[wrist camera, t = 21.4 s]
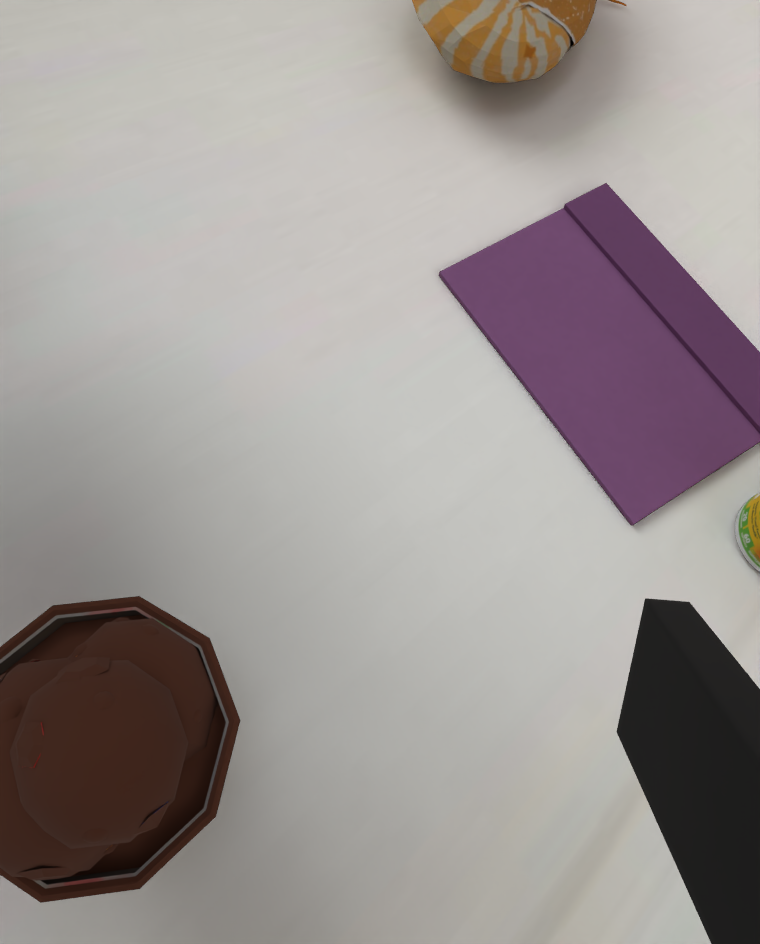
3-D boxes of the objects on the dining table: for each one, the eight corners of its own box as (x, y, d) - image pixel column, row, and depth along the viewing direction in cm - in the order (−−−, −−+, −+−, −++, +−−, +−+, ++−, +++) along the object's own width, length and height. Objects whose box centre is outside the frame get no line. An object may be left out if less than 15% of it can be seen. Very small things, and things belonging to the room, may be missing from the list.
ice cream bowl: (216, 596, 39) (142, 513, 25) (295, 800, 36) (259, 838, 22) (21, 680, 37) (-178, 642, 23) (85, 905, 34) (-105, 1021, 20)
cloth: (438, 275, 47) (439, 267, 46) (604, 189, 50) (608, 181, 49) (631, 526, 41) (636, 522, 41) (805, 412, 44) (813, 406, 44)
